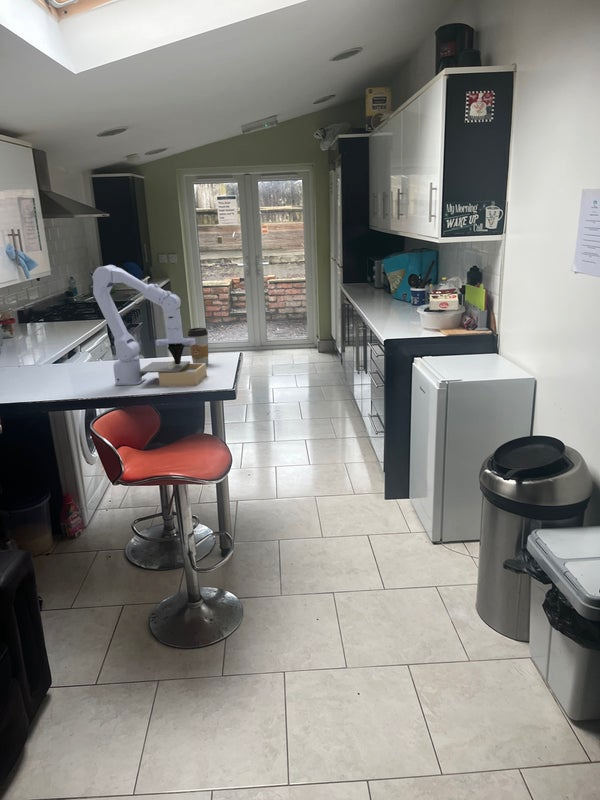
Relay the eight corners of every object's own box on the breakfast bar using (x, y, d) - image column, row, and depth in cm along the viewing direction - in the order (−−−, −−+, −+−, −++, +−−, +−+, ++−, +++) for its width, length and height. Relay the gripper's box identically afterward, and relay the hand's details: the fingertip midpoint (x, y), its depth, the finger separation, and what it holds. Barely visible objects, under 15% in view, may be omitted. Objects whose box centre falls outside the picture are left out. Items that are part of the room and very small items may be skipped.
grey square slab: (139, 377, 223) (137, 365, 222) (153, 367, 237) (152, 357, 236) (178, 376, 221) (177, 365, 220) (190, 367, 235) (189, 356, 234)
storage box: (159, 386, 224) (158, 373, 222) (172, 376, 237) (170, 364, 235) (196, 385, 222) (195, 372, 220) (206, 375, 235) (205, 363, 233)
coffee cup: (187, 367, 251) (183, 331, 247) (195, 362, 259) (192, 327, 254) (206, 367, 249) (202, 331, 244) (214, 362, 257) (210, 327, 252)
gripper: (196, 325, 226) (199, 360, 230) (159, 326, 228) (163, 361, 232) (190, 328, 220) (194, 365, 224) (152, 329, 222) (156, 365, 226)
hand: (178, 363), depth 227 cm, fingers closed
